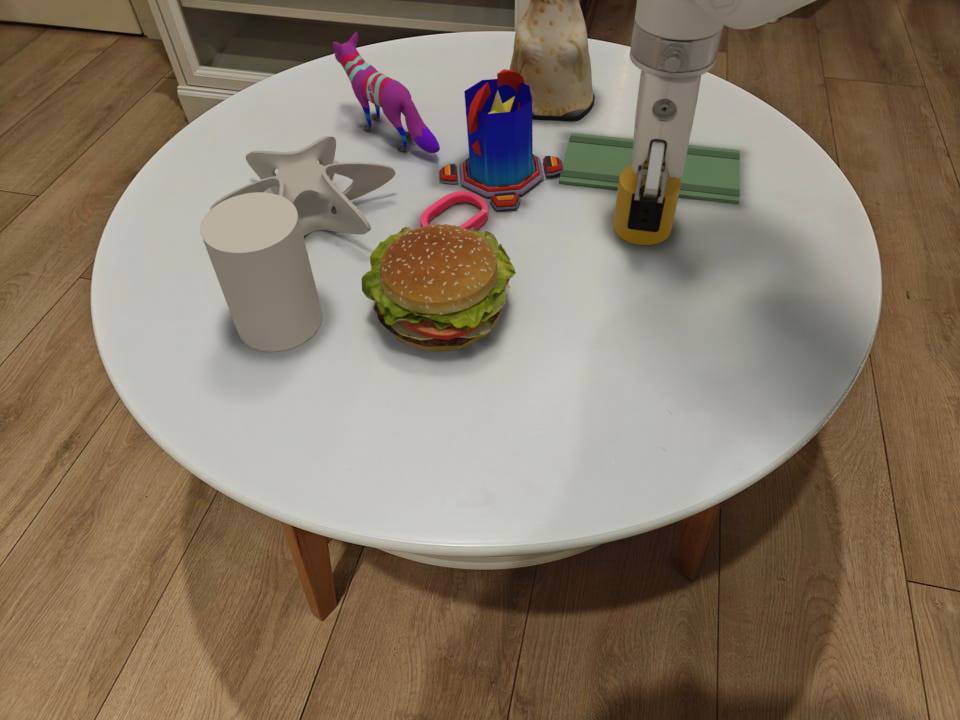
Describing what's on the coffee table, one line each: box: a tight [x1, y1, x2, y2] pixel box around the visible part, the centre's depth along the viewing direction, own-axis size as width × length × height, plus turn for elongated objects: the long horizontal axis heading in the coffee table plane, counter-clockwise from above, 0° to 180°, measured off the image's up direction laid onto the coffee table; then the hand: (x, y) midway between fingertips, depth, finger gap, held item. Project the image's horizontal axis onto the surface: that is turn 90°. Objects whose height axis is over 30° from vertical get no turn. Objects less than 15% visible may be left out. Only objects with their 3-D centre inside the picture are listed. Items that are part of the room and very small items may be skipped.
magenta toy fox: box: [332, 31, 441, 154], centre depth 91 cm, size 4×18×10 cm, turn 45°
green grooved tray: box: [558, 132, 741, 204], centre depth 89 cm, size 20×10×1 cm, turn 77°
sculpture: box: [209, 135, 396, 237], centre depth 82 cm, size 18×20×6 cm
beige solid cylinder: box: [199, 191, 323, 353], centre depth 69 cm, size 8×8×12 cm
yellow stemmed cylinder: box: [612, 163, 681, 246], centre depth 79 cm, size 6×6×8 cm
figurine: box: [509, 0, 596, 122], centre depth 92 cm, size 12×10×20 cm
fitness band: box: [419, 190, 490, 231], centre depth 83 cm, size 8×6×2 cm
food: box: [361, 223, 517, 352], centre depth 72 cm, size 14×14×8 cm
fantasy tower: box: [438, 68, 564, 211], centre depth 84 cm, size 12×12×12 cm
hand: (645, 206), depth 80 cm, fingers closed on yellow stemmed cylinder, 6 cm apart
